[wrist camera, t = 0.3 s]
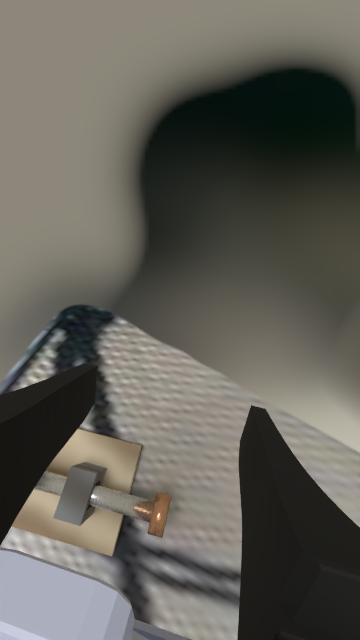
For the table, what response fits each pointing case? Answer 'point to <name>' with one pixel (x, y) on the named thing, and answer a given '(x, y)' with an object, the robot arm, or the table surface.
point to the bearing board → (102, 518)
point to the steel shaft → (117, 502)
